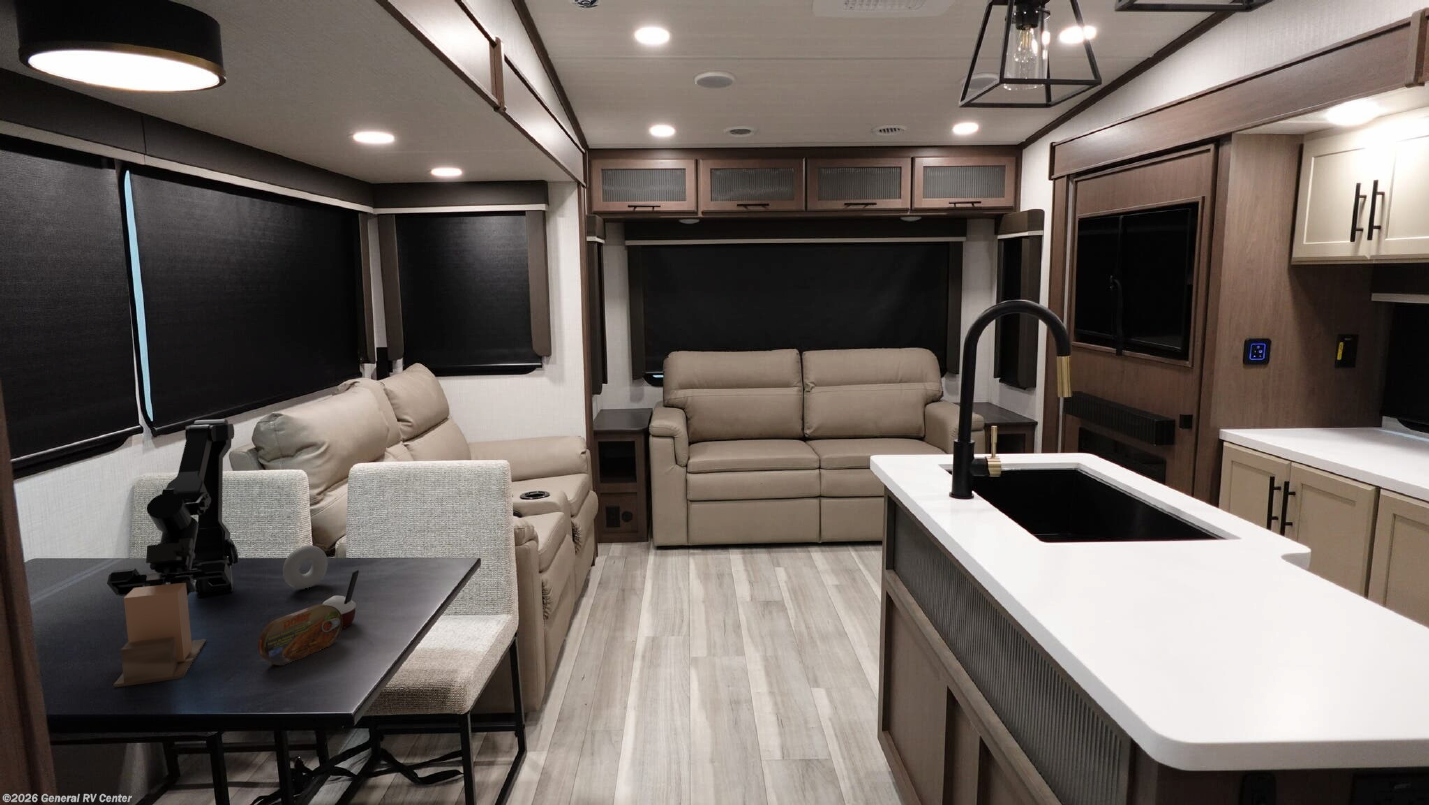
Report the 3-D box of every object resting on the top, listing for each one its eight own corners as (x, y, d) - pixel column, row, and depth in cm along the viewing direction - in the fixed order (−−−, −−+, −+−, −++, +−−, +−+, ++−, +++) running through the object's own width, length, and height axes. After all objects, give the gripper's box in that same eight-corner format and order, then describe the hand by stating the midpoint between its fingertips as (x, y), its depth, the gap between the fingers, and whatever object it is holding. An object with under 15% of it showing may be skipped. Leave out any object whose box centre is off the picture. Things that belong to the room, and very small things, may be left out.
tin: (266, 673, 138) (263, 628, 136) (257, 668, 139) (253, 624, 138) (345, 641, 150) (342, 600, 149) (335, 637, 152) (333, 596, 151)
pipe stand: (144, 649, 146) (141, 616, 145) (206, 641, 149) (203, 609, 148) (114, 687, 132) (110, 651, 131) (182, 678, 135) (179, 642, 134)
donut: (289, 596, 172) (286, 553, 170) (281, 593, 173) (277, 550, 172) (332, 583, 180) (329, 541, 178) (323, 580, 182) (321, 539, 180)
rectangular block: (141, 655, 142) (134, 587, 140) (192, 649, 144) (185, 582, 142) (131, 667, 137) (123, 598, 135) (183, 661, 140) (177, 592, 138)
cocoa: (314, 627, 157) (306, 571, 155) (344, 616, 162) (337, 561, 160) (338, 638, 151) (331, 580, 150) (368, 626, 156) (361, 569, 155)
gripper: (105, 529, 142) (86, 609, 133) (222, 519, 148) (211, 595, 139) (126, 556, 150) (109, 633, 141) (235, 546, 156) (226, 620, 148)
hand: (164, 620), depth 142 cm, fingers closed, pressing on rectangular block
